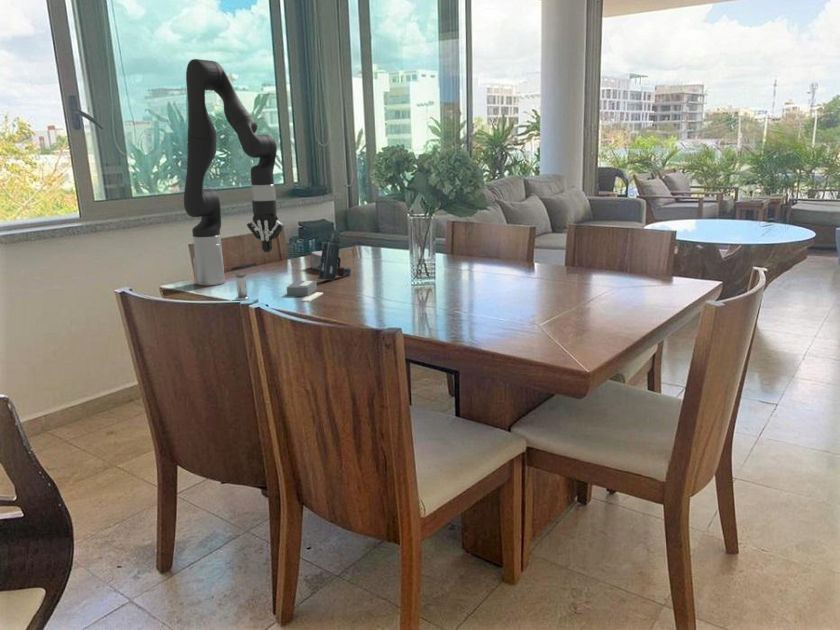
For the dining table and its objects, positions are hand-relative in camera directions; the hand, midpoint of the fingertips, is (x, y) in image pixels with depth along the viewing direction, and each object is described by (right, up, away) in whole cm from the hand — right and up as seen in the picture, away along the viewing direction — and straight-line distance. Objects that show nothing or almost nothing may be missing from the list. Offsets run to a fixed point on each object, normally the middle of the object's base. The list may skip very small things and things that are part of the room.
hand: (267, 251), depth 214 cm
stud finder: (+11, -14, +1) cm, 18 cm away
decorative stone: (+13, -3, +41) cm, 43 cm away
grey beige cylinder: (-7, -16, -6) cm, 18 cm away
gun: (+20, -8, +21) cm, 30 cm away
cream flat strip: (+16, -15, -6) cm, 23 cm away
